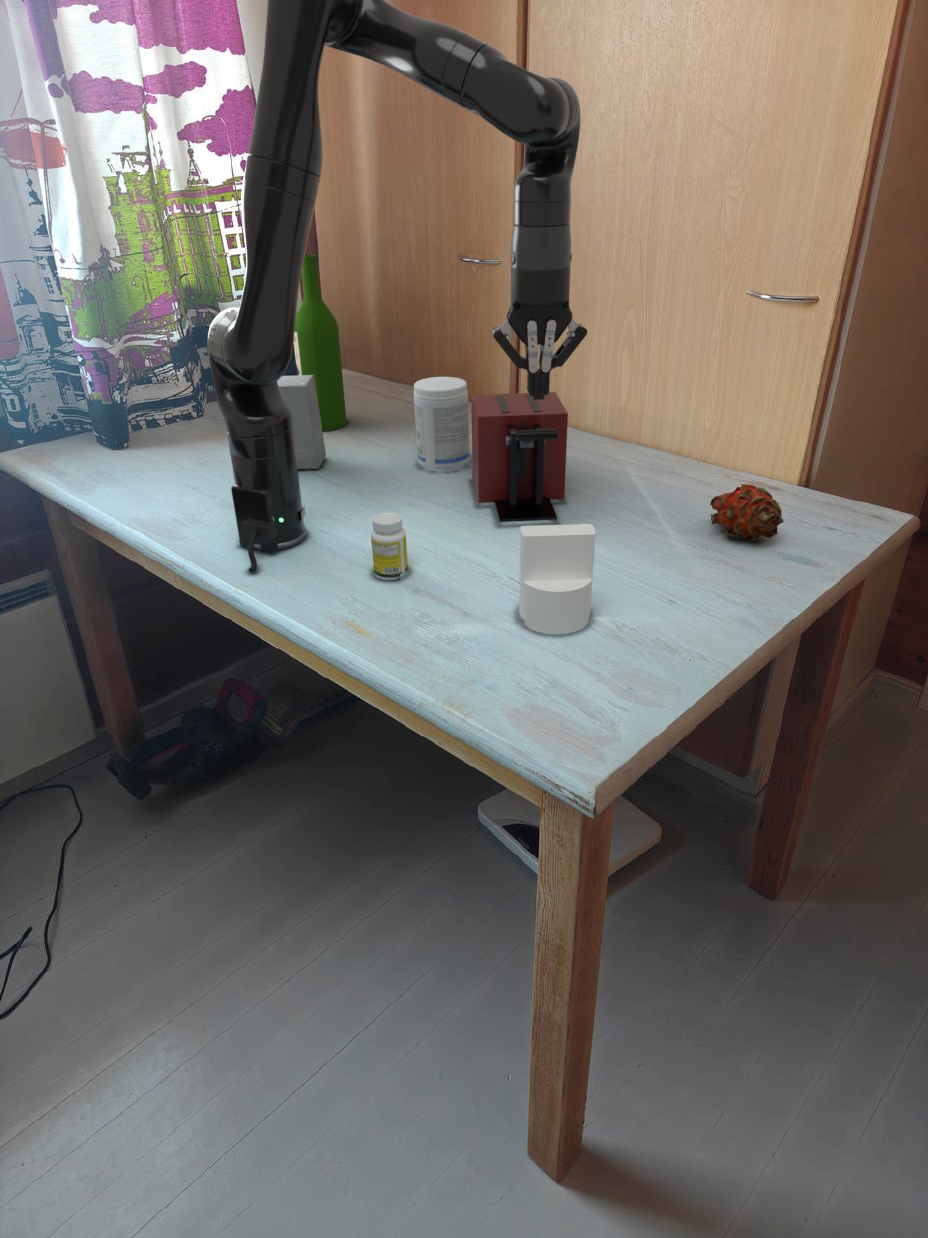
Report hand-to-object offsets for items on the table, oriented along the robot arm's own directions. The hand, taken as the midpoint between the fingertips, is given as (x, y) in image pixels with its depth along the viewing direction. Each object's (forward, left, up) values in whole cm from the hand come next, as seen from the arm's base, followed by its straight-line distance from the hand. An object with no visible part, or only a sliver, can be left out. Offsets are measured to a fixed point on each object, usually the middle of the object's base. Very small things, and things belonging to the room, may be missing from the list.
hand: (537, 397), depth 120 cm
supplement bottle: (-18, +15, -22) cm, 32 cm away
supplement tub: (+24, +28, -22) cm, 43 cm away
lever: (+5, +3, -9) cm, 10 cm away
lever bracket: (+9, +6, -22) cm, 24 cm away
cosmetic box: (+13, +52, -22) cm, 58 cm away
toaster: (+17, +10, -22) cm, 29 cm away
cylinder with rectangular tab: (-20, -10, -22) cm, 31 cm away
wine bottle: (+35, +61, -22) cm, 73 cm away
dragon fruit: (+14, -27, -22) cm, 38 cm away
